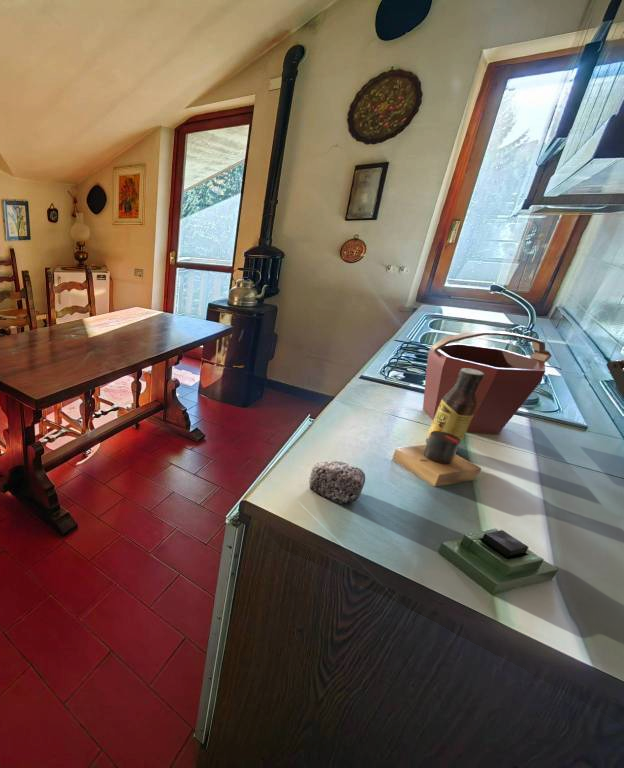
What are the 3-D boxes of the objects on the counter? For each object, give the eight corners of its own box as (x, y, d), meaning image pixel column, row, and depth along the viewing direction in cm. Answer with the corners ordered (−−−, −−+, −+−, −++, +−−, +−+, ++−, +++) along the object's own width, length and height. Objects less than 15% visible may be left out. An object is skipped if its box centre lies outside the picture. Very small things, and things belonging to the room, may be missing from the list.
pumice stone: (329, 485, 83) (294, 481, 79) (345, 454, 81) (310, 448, 77) (372, 517, 74) (335, 514, 70) (391, 482, 72) (354, 478, 68)
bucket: (511, 416, 110) (551, 330, 100) (536, 452, 92) (588, 352, 83) (405, 396, 122) (432, 317, 112) (411, 424, 104) (443, 334, 95)
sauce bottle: (421, 438, 98) (449, 363, 90) (452, 444, 95) (484, 368, 87) (428, 450, 92) (458, 372, 85) (461, 457, 90) (495, 377, 82)
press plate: (497, 538, 62) (502, 529, 61) (524, 555, 58) (529, 546, 58) (480, 541, 61) (484, 533, 60) (506, 559, 58) (511, 550, 57)
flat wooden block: (430, 454, 91) (434, 442, 89) (476, 479, 82) (481, 467, 80) (391, 459, 88) (396, 447, 87) (434, 486, 79) (439, 473, 78)
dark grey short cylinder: (417, 453, 85) (425, 431, 83) (433, 449, 87) (442, 428, 85) (440, 465, 81) (449, 443, 79) (457, 462, 82) (467, 439, 80)
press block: (493, 540, 66) (503, 522, 64) (552, 580, 59) (564, 560, 57) (437, 552, 63) (445, 533, 62) (491, 595, 56) (502, 574, 55)
